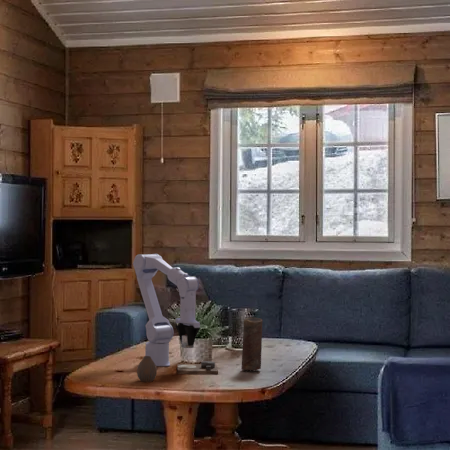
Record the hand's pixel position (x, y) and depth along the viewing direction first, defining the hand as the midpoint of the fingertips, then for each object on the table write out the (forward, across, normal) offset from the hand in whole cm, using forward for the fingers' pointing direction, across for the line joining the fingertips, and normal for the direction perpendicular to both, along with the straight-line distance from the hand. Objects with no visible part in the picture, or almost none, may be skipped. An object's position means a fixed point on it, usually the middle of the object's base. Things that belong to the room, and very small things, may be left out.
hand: (187, 344), depth 342 cm
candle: (+10, +12, +21) cm, 26 cm away
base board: (+10, +2, +4) cm, 11 cm away
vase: (+10, +11, -23) cm, 27 cm away
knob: (+1, 0, 0) cm, 1 cm away
